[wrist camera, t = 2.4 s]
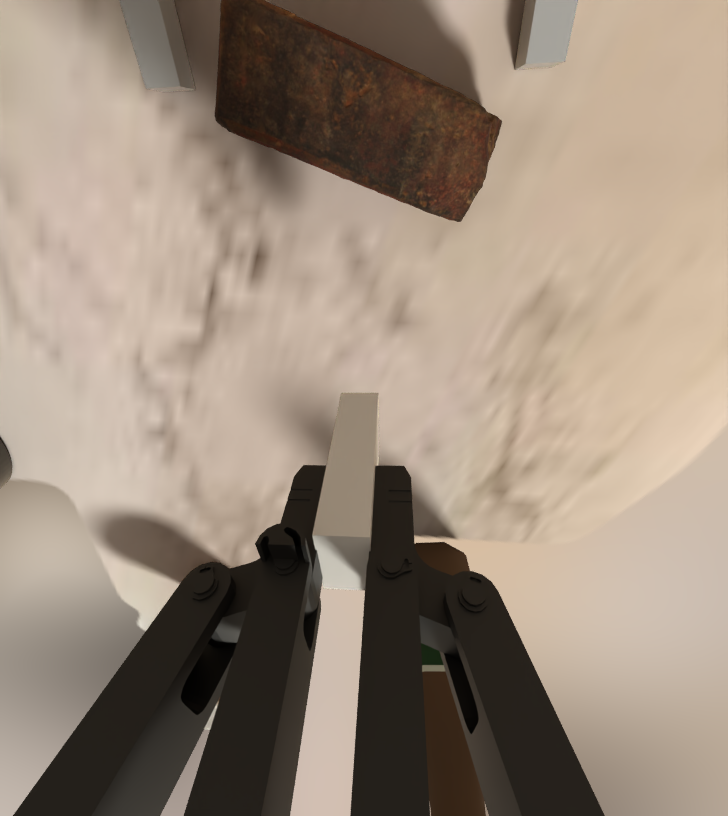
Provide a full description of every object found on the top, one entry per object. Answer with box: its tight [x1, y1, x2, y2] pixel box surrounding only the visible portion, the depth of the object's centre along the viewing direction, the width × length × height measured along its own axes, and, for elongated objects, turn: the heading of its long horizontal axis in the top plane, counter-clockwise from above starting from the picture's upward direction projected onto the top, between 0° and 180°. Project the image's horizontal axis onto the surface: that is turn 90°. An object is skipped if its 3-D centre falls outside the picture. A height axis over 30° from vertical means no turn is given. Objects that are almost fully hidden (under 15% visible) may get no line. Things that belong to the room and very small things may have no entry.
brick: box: [215, 0, 502, 222], centre depth 15 cm, size 11×4×5 cm, turn 71°
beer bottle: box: [415, 542, 486, 816], centre depth 28 cm, size 8×8×24 cm
